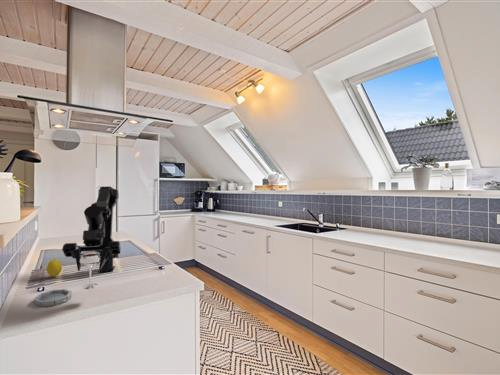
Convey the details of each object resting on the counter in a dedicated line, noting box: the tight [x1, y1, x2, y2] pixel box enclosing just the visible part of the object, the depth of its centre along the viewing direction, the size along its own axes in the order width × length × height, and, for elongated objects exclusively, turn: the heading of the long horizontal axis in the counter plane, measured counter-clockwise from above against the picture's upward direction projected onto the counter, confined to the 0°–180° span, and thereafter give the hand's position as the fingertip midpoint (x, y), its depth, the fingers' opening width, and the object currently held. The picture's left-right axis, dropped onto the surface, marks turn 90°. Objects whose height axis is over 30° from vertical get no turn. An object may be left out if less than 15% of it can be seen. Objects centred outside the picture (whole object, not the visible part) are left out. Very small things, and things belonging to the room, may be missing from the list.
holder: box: [33, 288, 73, 308], centre depth 104 cm, size 11×11×2 cm
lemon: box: [46, 258, 63, 278], centre depth 125 cm, size 6×6×8 cm
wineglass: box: [79, 251, 101, 290], centre depth 103 cm, size 7×7×12 cm
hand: (89, 269), depth 101 cm, fingers closed on wineglass, 6 cm apart
